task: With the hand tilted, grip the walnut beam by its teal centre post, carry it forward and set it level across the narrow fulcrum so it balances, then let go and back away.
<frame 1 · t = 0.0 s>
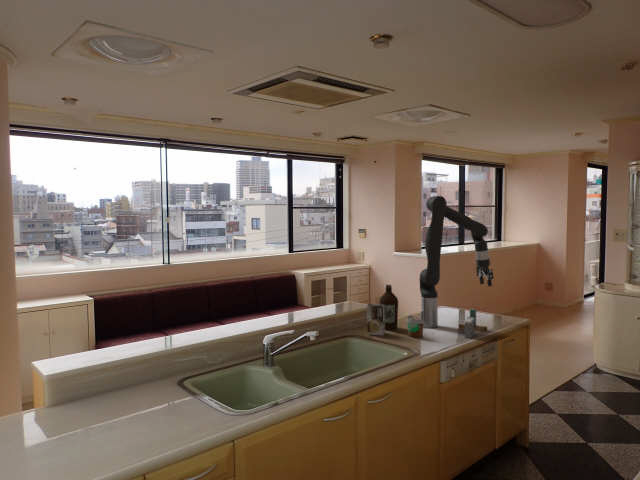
hand: (486, 285, 285), 22 cm above the worktop, tool pointing down, fingers open, 8 cm apart
olive oil: (388, 328, 276), on the worktop
fulcrum: (469, 335, 257), on the worktop
food container: (412, 336, 258), on the worktop
coffee box: (376, 334, 265), on the worktop
beam: (473, 329, 270), on the worktop
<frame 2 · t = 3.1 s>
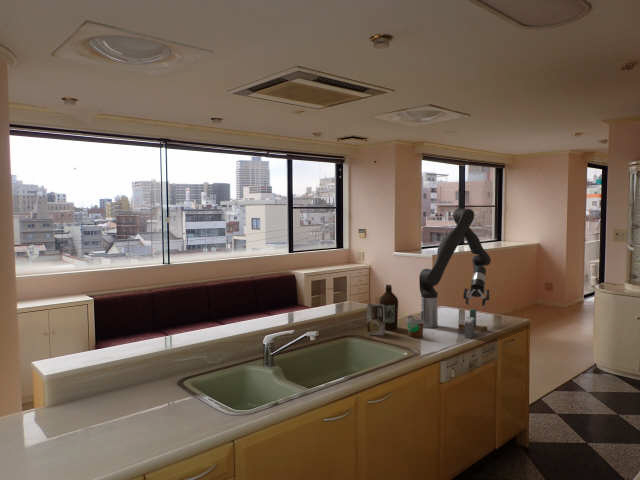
hand: (475, 304, 275), 13 cm above the worktop, tool tilted 45°, fingers open, 8 cm apart
nothing on the worktop moved.
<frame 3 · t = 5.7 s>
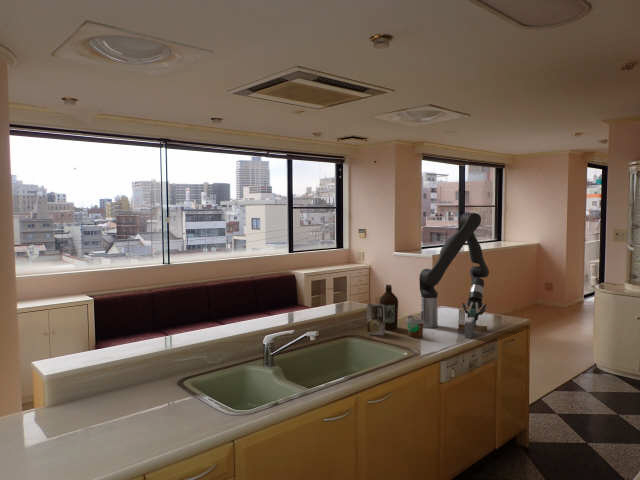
hand: (472, 319, 268), 6 cm above the worktop, tool tilted 45°, fingers closed on beam, 3 cm apart
beam: (472, 329, 270), on the worktop, touching gripper
everything else where it was.
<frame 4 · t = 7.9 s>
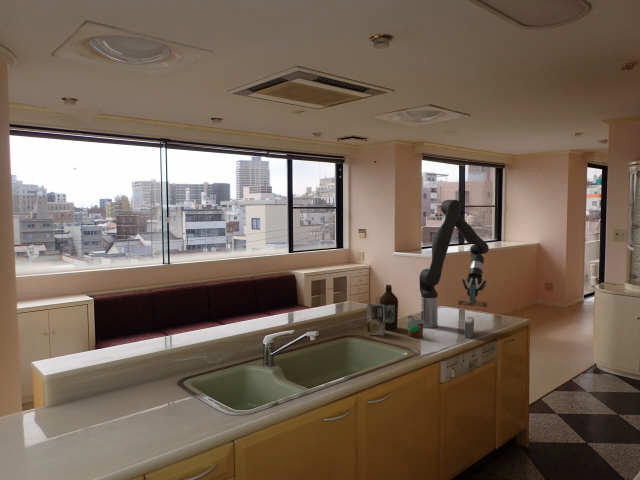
hand: (472, 295, 266), 20 cm above the worktop, tool tilted 45°, fingers closed on beam, 3 cm apart
beam: (472, 305, 269), point 14 cm above the worktop, touching gripper
everything else where it was.
when the fingers open (16 cm above the worktop, at t = 10.1 s): beam stays where it is, resting on fulcrum.
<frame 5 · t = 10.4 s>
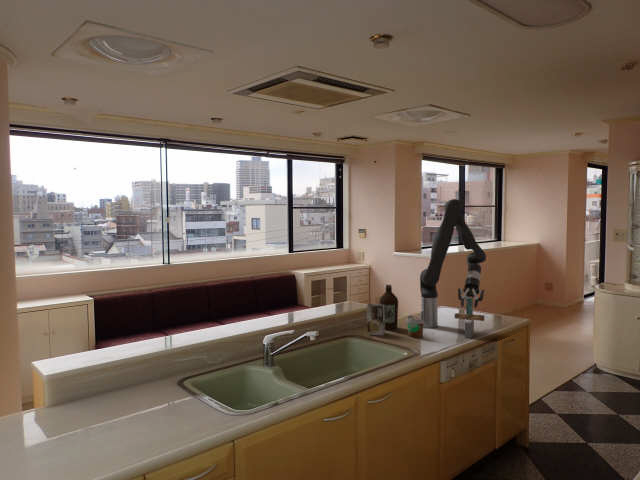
hand: (468, 306, 255), 16 cm above the worktop, tool tilted 45°, fingers open, 6 cm apart
beam: (469, 319, 257), point 9 cm above the worktop, touching fulcrum
everything else where it was.
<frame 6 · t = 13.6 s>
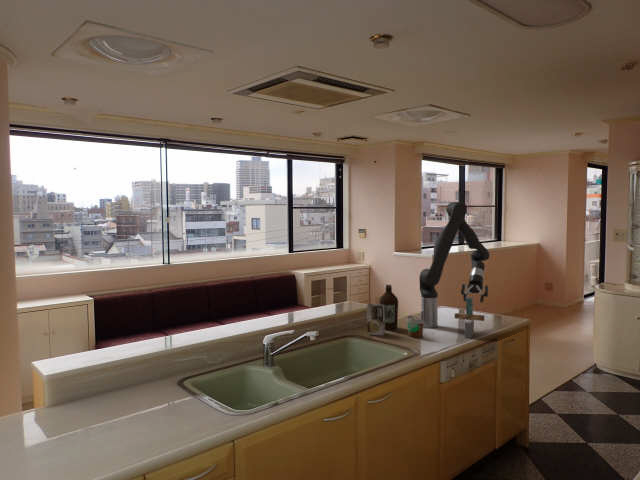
hand: (473, 301, 266), 17 cm above the worktop, tool tilted 45°, fingers open, 8 cm apart
nothing on the worktop moved.
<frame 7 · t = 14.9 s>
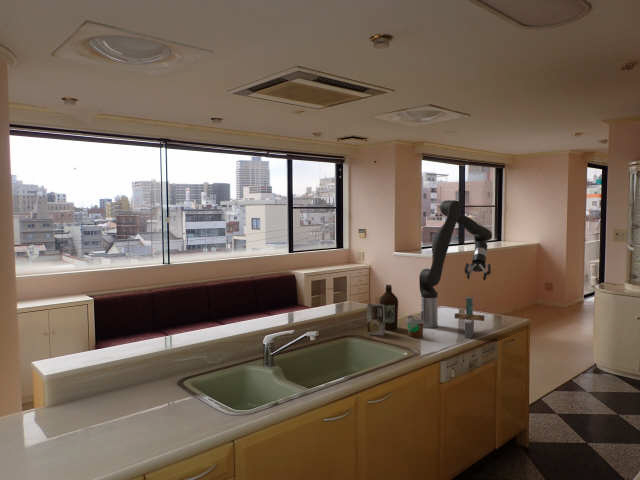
hand: (476, 279, 275), 27 cm above the worktop, tool tilted 45°, fingers open, 8 cm apart
nothing on the worktop moved.
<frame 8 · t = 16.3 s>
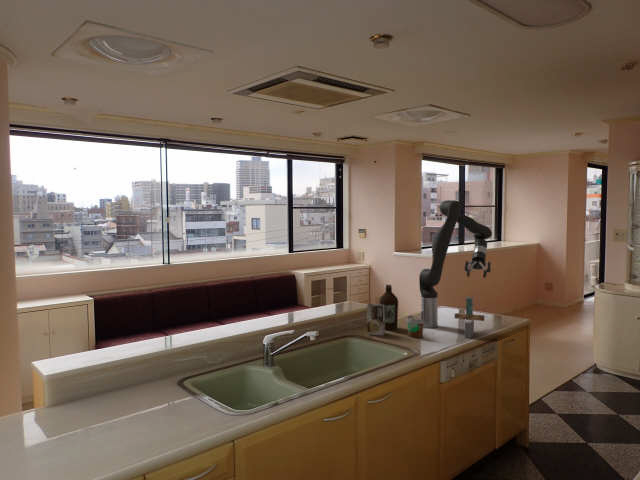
hand: (476, 276, 276), 29 cm above the worktop, tool tilted 45°, fingers open, 8 cm apart
nothing on the worktop moved.
at the end: beam 0.1 cm off-centre on the fulcrum, point 9.0 cm above the fulcrum's base; beam tilted 0°; beam touching fulcrum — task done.
